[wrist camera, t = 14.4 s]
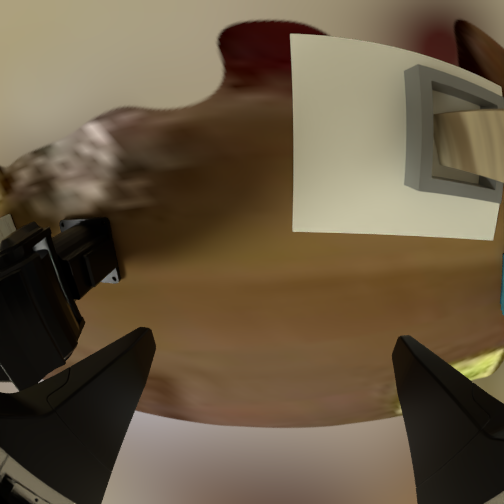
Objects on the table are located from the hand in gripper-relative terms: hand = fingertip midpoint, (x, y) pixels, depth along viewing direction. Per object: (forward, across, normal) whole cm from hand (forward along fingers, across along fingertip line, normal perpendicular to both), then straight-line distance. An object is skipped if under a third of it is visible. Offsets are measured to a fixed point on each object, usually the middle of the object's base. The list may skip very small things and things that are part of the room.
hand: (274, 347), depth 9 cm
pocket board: (+13, -11, -8) cm, 19 cm away
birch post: (+12, -14, -8) cm, 21 cm away
